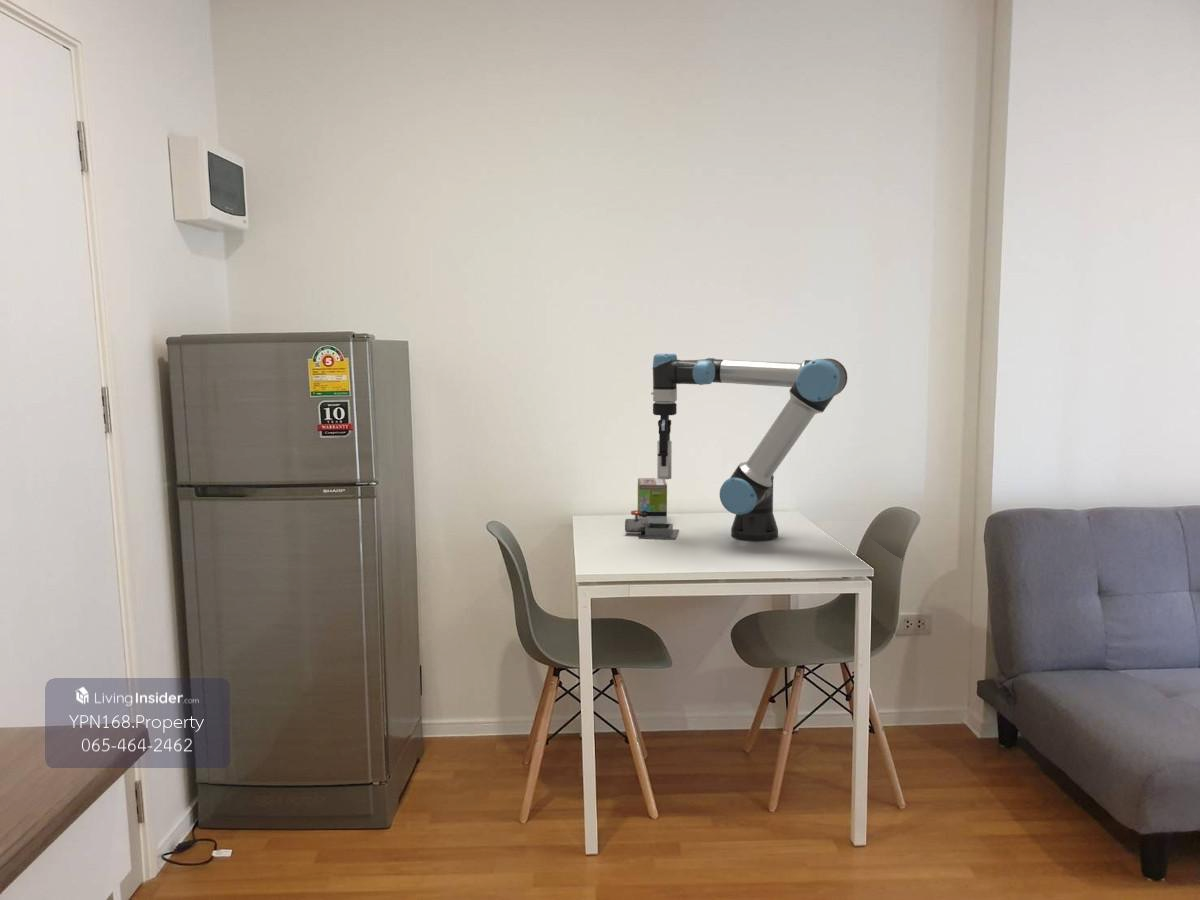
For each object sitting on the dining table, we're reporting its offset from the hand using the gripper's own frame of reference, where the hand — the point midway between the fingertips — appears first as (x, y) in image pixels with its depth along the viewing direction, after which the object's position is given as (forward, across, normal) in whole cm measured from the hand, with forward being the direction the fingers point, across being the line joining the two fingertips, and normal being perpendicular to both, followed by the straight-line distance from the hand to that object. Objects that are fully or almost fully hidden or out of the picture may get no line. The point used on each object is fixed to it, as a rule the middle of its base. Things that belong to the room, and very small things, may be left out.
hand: (664, 474), depth 275 cm
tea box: (+21, -24, -6) cm, 33 cm away
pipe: (+1, 0, 0) cm, 1 cm away
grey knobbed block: (+21, -4, -5) cm, 22 cm away
